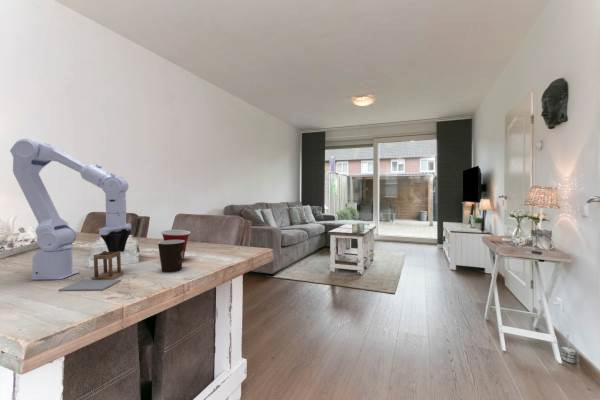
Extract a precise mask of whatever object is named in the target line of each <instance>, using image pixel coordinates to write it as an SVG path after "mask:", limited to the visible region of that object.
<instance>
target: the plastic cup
mask: <svg viewBox="0 0 600 400" xmlns="http://www.w3.org/2000/svg"><path fill="white" fill-rule="evenodd" d="M160 234H161V235H162V238H163V241H166V240H184V241H185V243H184V252H183V260H184V259H185V253H186V248H187V244H188V239H189V236H190V234H191V231H189V230H185V229H167V230H162V231H161V233H160Z"/></svg>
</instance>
